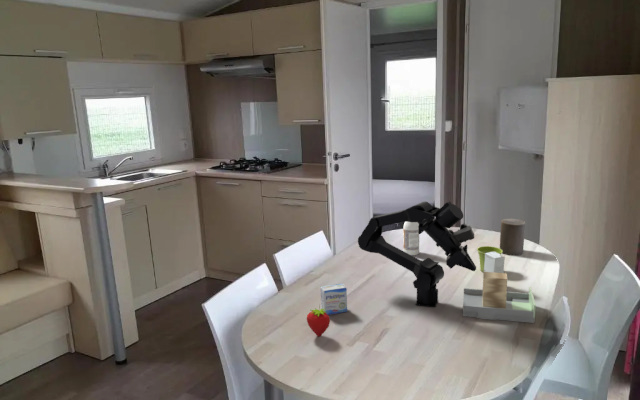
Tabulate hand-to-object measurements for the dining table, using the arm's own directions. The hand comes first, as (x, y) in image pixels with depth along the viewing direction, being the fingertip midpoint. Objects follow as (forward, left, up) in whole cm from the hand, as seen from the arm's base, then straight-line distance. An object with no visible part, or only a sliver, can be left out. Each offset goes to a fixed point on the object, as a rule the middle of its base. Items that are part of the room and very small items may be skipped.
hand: (475, 269), depth 155 cm
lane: (+7, 0, -14) cm, 15 cm away
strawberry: (-44, -29, -14) cm, 55 cm away
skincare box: (+7, +20, -14) cm, 25 cm away
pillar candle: (+16, +60, -14) cm, 64 cm away
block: (+6, 0, -12) cm, 13 cm away
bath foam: (-26, +50, -14) cm, 58 cm away
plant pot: (+6, +35, -14) cm, 38 cm away
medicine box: (-44, -12, -14) cm, 48 cm away
